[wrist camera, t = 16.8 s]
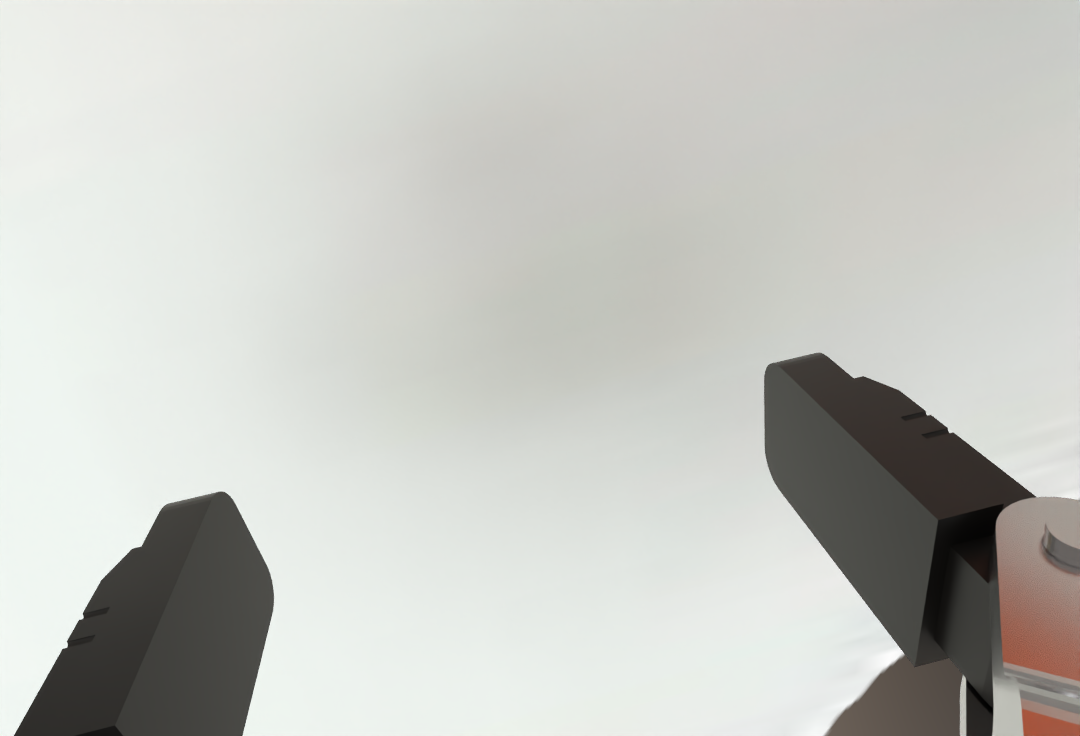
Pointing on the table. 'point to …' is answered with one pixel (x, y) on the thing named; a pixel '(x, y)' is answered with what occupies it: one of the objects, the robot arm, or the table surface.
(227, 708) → the robot arm
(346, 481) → the table surface
